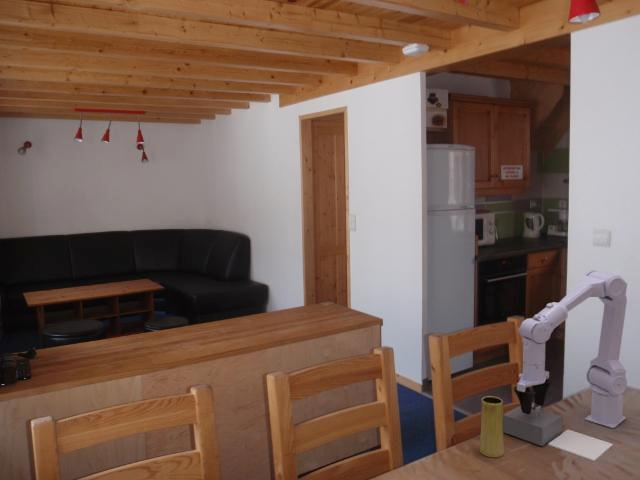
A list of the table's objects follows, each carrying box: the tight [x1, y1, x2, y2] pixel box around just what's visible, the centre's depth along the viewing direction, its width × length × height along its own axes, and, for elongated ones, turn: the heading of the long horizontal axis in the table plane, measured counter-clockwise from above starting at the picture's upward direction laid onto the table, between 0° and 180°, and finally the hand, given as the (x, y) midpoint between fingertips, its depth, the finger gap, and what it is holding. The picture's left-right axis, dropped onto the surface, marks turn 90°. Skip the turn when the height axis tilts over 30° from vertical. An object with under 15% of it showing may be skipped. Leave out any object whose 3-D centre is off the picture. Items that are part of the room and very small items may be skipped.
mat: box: [547, 429, 614, 462], centre depth 146 cm, size 12×12×1 cm
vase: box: [479, 395, 505, 458], centre depth 143 cm, size 6×6×14 cm
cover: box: [503, 402, 563, 447], centre depth 153 cm, size 12×12×8 cm
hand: (532, 409), depth 153 cm, fingers open, 7 cm apart
